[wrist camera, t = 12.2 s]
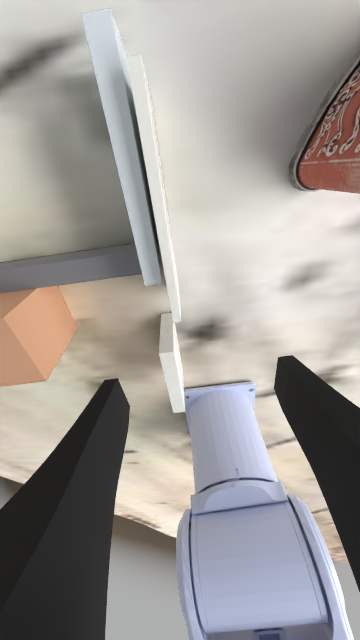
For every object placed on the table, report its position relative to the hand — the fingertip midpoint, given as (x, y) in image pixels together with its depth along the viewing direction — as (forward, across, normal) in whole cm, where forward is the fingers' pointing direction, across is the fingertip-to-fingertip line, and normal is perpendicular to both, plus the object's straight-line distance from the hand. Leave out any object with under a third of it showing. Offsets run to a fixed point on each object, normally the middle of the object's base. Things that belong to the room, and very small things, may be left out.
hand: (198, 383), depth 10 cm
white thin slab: (+9, +1, -2) cm, 10 cm away
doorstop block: (+9, +12, -1) cm, 15 cm away
